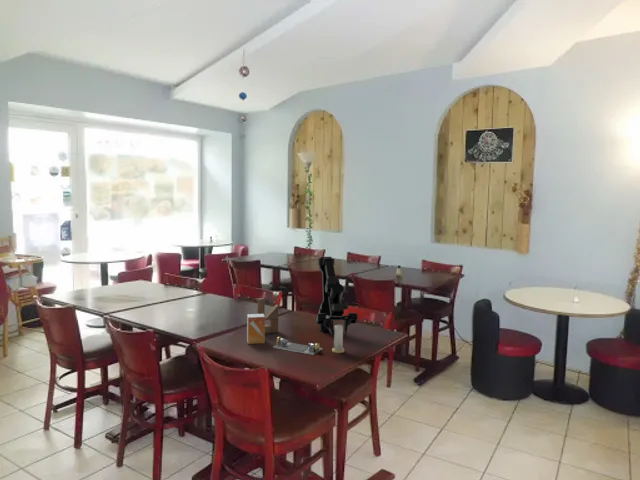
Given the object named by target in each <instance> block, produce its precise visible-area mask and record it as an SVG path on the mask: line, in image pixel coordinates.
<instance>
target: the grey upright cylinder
mask: <svg viewBox="0 0 640 480" xmlns="http://www.w3.org/2000/svg"><path fill="white" fill-rule="evenodd" d="M333 330H334V331H333V347H331V348H332V349H331V352H332V353H335V354H342V353H345V348H344V347H343V345H344V344H343V343H344V341H343V340H344V324H342V323H341V324H338V323H337V324H333Z"/></svg>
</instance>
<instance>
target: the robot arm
mask: <svg viewBox="0 0 640 480" xmlns="http://www.w3.org/2000/svg"><path fill="white" fill-rule="evenodd" d="M335 263H336V262H335V258H333V257H332V256H319V258H317V266H318V269H319V271H320V273H321V278H322V283H321V284H322V302H321V304H320V306H319V310H318V313H317V314H316V320H315V321H316V324H317V325H318V330H319V331H320V332H322V333H330V334H331V336H334V321H344V322H343V334H344V335H345V336H346V335H347V331H348V327H349V326H350V325H351V324H356V323H357V321H358V318H359V316H358V313H357V312H348V314H347V315H345V310H348V308H349V304H348V302H347V301H346V302H345V301H344V302H343V303H342V300H341V299H342V297H343V294H344V290H345V288H344V286H343V284H341V282H340V280H339V279H338V278H337V277H336V271H335V265H336V264H335Z"/></svg>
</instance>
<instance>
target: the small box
mask: <svg viewBox="0 0 640 480" xmlns="http://www.w3.org/2000/svg"><path fill="white" fill-rule="evenodd" d="M246 315H247V316H246V317H247V318H246V321H247V322H246V341H247V344H248V345H252V344H254V345H255V344H265V341H266V340H265V339H266V337H265V335H266V333H265V325H266V320H265V316H266V315H265V316H264V314H257V313H251V314H249V313H248V314H246Z"/></svg>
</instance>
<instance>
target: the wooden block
mask: <svg viewBox="0 0 640 480" xmlns="http://www.w3.org/2000/svg"><path fill="white" fill-rule="evenodd" d="M265 300H266V299H265V297H259V298H257V311H256V312H257V313H256V314H264V316H265V321H268V320H269V324H265V334H271V333H272V334H275V333H278V332H279V305H278V304H275V305H274V306H273V307H272V308H271V309H270V310H269V311H268V312H267V313H266V314H265V312H266V311H265V309H266V308H265V307H266V306H265V303H266V301H265Z"/></svg>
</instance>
